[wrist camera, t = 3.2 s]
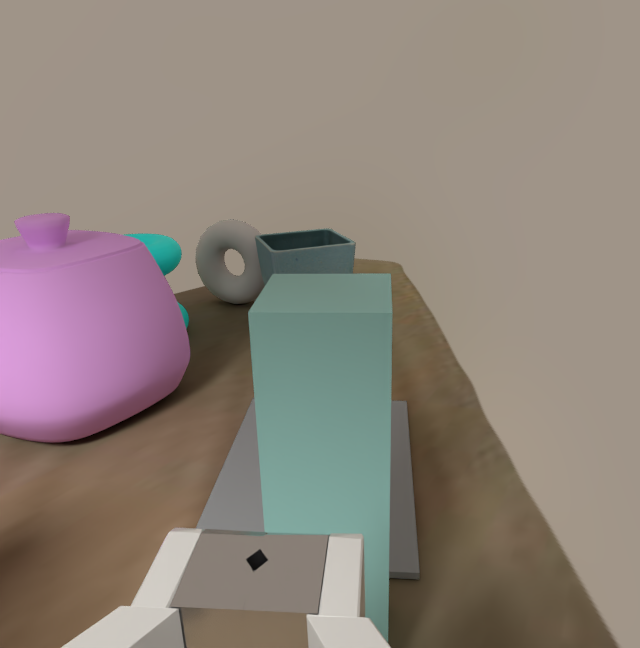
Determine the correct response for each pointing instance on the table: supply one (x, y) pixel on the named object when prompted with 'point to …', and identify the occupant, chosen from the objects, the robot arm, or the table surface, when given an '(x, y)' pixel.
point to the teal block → (327, 412)
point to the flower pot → (305, 253)
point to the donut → (213, 264)
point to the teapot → (82, 331)
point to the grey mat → (246, 496)
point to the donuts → (163, 256)
